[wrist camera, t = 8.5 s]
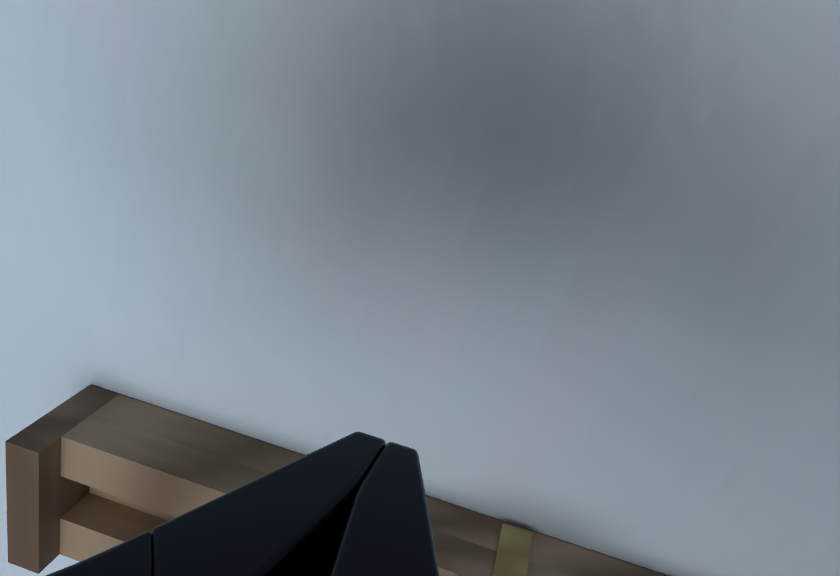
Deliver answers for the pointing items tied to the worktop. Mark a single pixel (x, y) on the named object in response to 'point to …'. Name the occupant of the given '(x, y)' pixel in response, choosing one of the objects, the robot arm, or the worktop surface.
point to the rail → (206, 491)
